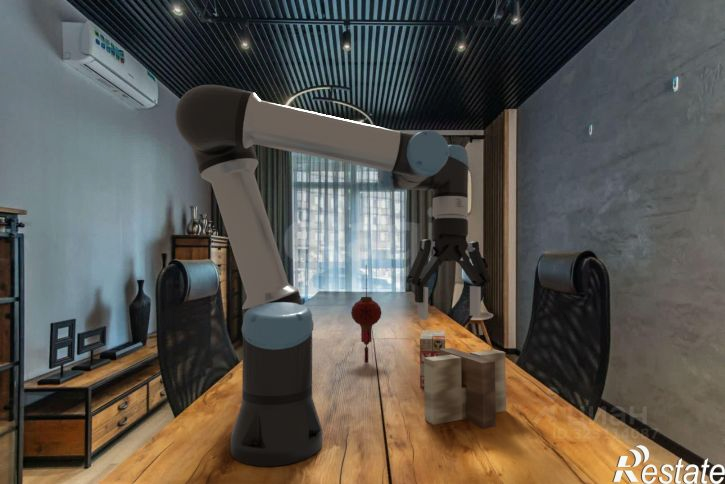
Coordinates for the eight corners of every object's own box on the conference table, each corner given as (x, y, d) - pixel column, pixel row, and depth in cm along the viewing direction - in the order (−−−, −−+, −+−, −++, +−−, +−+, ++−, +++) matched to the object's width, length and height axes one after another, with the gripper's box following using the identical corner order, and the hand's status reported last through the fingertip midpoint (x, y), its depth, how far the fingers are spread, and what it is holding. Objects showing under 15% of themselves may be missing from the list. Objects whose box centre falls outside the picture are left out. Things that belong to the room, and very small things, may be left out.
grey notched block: (433, 424, 81) (432, 360, 81) (424, 419, 83) (424, 357, 84) (506, 410, 88) (505, 352, 89) (496, 406, 91) (495, 349, 91)
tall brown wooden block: (483, 428, 79) (482, 363, 79) (439, 405, 92) (439, 349, 92) (496, 425, 80) (494, 361, 81) (451, 403, 93) (450, 347, 93)
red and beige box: (423, 366, 126) (423, 324, 126) (445, 367, 125) (444, 325, 125) (420, 387, 105) (419, 337, 105) (445, 389, 104) (445, 338, 104)
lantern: (352, 358, 137) (352, 264, 138) (381, 358, 136) (381, 264, 138) (350, 365, 127) (350, 265, 129) (381, 365, 127) (381, 264, 128)
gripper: (409, 213, 83) (408, 322, 82) (506, 220, 94) (507, 317, 93) (390, 216, 90) (389, 317, 89) (483, 222, 100) (483, 313, 99)
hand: (449, 317), depth 91 cm, fingers open, 13 cm apart
